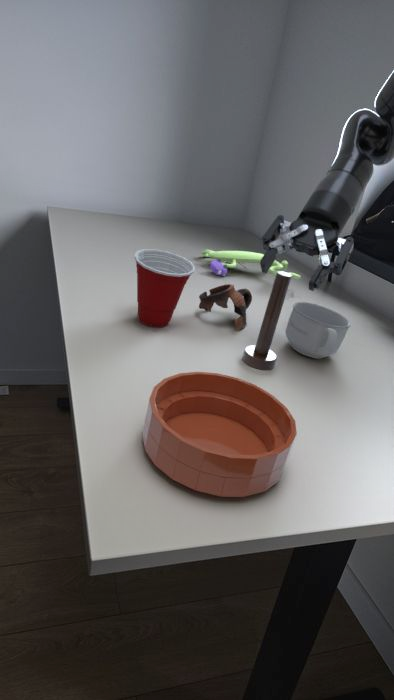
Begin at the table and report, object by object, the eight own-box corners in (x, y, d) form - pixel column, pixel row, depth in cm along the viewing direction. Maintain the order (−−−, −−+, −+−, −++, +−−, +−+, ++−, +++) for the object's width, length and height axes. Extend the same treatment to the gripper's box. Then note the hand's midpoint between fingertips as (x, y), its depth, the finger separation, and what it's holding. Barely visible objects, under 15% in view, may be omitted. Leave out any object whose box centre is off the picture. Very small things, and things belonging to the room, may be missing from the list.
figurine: (296, 296, 123) (302, 275, 121) (192, 270, 124) (197, 249, 122) (294, 276, 140) (300, 257, 137) (203, 253, 141) (207, 234, 139)
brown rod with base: (261, 353, 88) (286, 268, 81) (280, 368, 84) (308, 280, 77) (236, 355, 85) (260, 267, 79) (254, 371, 81) (281, 280, 74)
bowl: (232, 403, 71) (242, 367, 68) (310, 484, 58) (326, 443, 55) (120, 419, 62) (127, 378, 59) (184, 518, 49) (196, 471, 46)
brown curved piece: (231, 337, 93) (218, 296, 90) (197, 337, 100) (184, 299, 97) (268, 313, 100) (257, 274, 98) (235, 315, 107) (224, 279, 105)
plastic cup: (140, 336, 84) (152, 269, 79) (115, 310, 92) (124, 247, 87) (193, 332, 90) (207, 270, 85) (165, 308, 98) (177, 250, 93)
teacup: (280, 333, 99) (292, 296, 95) (333, 346, 98) (347, 309, 95) (282, 363, 86) (295, 322, 83) (342, 378, 86) (358, 337, 82)
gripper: (292, 178, 84) (245, 251, 79) (373, 200, 78) (327, 280, 74) (294, 208, 90) (251, 277, 86) (369, 231, 84) (327, 306, 80)
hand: (286, 278), depth 80 cm, fingers open, 8 cm apart
